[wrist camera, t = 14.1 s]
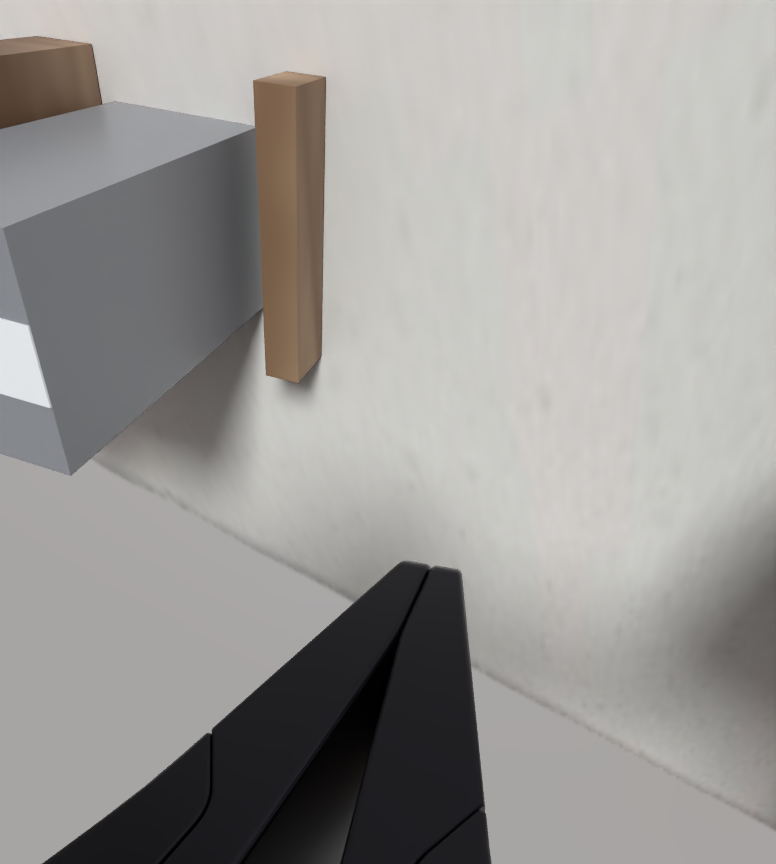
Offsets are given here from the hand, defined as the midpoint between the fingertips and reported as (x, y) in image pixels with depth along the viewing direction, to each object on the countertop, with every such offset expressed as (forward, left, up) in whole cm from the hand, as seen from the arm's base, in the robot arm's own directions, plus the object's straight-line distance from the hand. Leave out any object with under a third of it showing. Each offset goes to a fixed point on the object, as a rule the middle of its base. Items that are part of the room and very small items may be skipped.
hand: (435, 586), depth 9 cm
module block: (+12, -2, -13) cm, 18 cm away
